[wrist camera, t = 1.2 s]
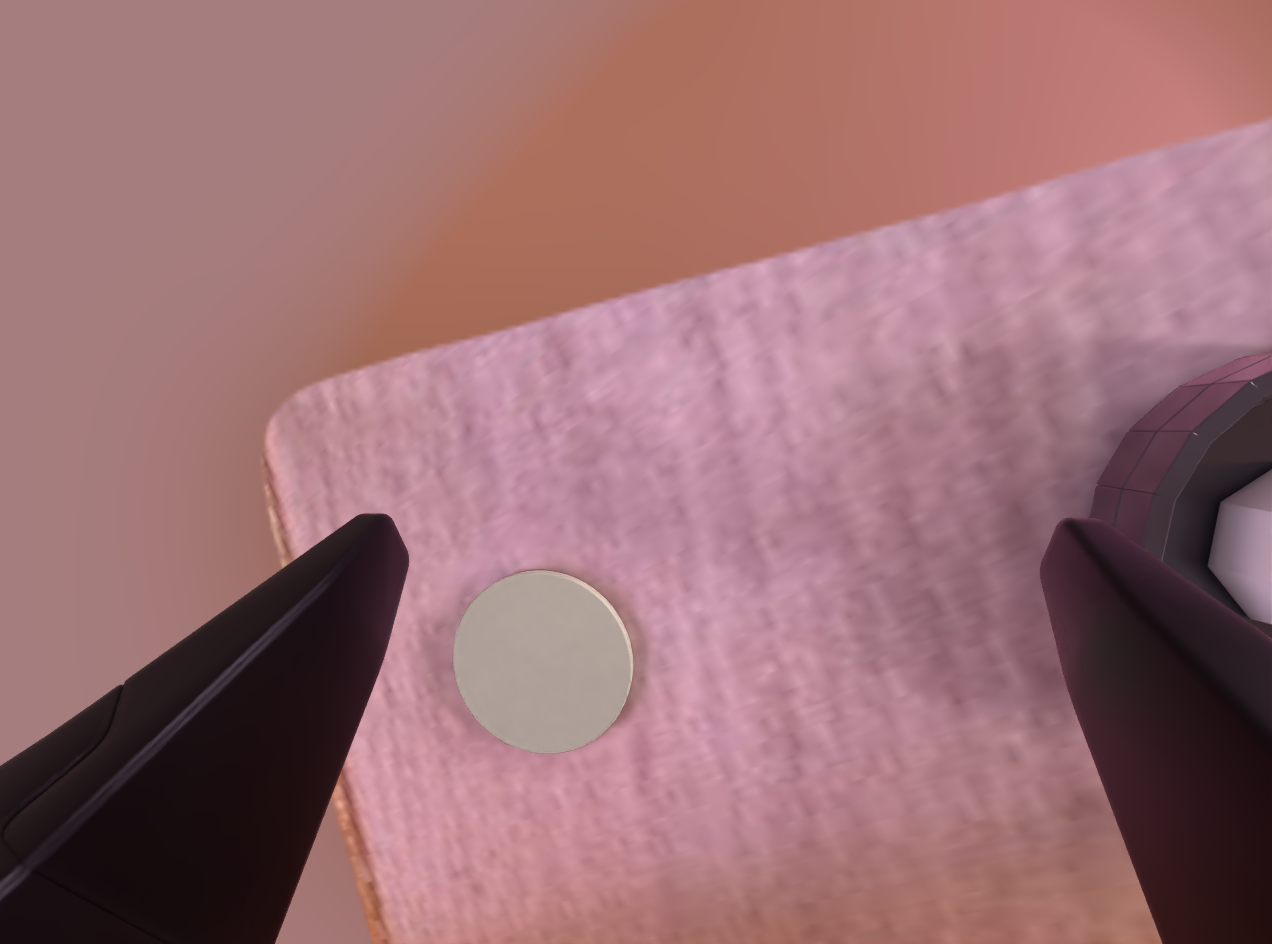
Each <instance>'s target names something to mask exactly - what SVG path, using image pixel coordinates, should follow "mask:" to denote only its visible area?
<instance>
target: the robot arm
mask: <svg viewBox="0 0 1272 944" xmlns="http://www.w3.org/2000/svg"><path fill="white" fill-rule="evenodd" d="M408 567H409V555H408V551H407V549H406V547H405V544H404V542H403V540H402V538H401V536H400V534H399V532H398V530H397V528H396V526H395V523H394V521H393V520H392V518H391V517H390V516H388V515H387V514H360V515H358V516H356V517H354V518H353V519H352V520H350V521H349V522H347V523H346V524H345V525H343V526H342V527H340V528H339V529H338V530H336V531H335V532H333V533H332V534H331V535H329V536H328V537H326V538H325V539H324V540H322V541H321V542H319V543H318V544H317V545H315V546H314V547H312V548H311V549H310V550H308V551H307V552H305V553H304V554H303V555H301V556H300V557H298V558H297V559H296V560H294V561H293V562H291V563H290V564H288V565H287V566H286V567H284V568H283V569H281V570H280V571H279V572H277V573H276V574H274V575H273V576H272V577H270V578H269V579H267V580H266V581H265V582H263V583H262V584H261V585H259V586H258V587H256V588H255V589H253V590H252V591H251V592H249V593H248V594H247V595H245V596H244V597H242V598H241V599H239V600H238V601H237V602H235V603H234V604H232V605H231V606H229V607H228V608H227V609H225V610H224V611H222V612H221V613H220V614H218V615H217V616H216V617H214V618H213V619H211V620H210V621H208V622H207V623H206V624H204V625H203V626H201V627H200V628H199V629H197V630H196V631H195V632H193V633H192V634H190V635H189V636H187V637H186V638H185V639H183V640H182V641H180V642H179V643H177V644H176V645H175V646H174V647H172V648H170V649H169V650H168V651H166V652H165V653H163V654H162V655H161V656H159V657H158V658H157V659H155V660H154V661H152V662H151V663H150V664H148V665H147V666H145V667H144V668H142V669H141V670H140V671H138V672H137V673H135V674H134V675H132V676H131V677H130V678H128V679H127V680H126V681H125V683H124V685H118V686H117V687H115V688H114V689H113V690H111V691H110V692H109V693H107V694H106V695H104V696H103V697H102V698H100V699H99V700H97V701H96V702H94V703H93V704H92V705H90V706H89V707H87V708H86V709H84V710H83V711H82V712H80V713H79V714H77V715H76V716H74V717H73V718H72V719H70V720H69V721H67V722H66V723H64V724H63V725H62V726H60V727H58V728H57V729H56V730H54V731H53V732H51V733H50V734H48V735H47V736H45V737H44V738H42V739H41V740H39V741H38V742H37V743H35V744H33V745H32V746H30V747H29V748H27V749H26V750H24V751H23V752H21V753H19V754H18V755H16V756H15V757H13V758H12V759H10V760H9V761H7V762H6V763H4V764H3V765H1V766H0V944H275V942H276V939H277V937H278V934H279V932H280V929H281V926H282V924H283V921H284V918H285V916H286V913H287V911H288V908H289V906H290V903H291V900H292V897H293V895H294V893H295V890H296V887H297V885H298V882H299V880H300V877H301V874H302V872H303V869H304V866H305V864H306V861H307V859H308V856H309V853H310V851H311V848H312V845H313V843H314V840H315V838H316V835H317V833H318V830H319V827H320V825H321V822H322V819H323V817H324V814H325V812H326V809H327V806H328V804H329V801H330V799H331V796H332V794H333V791H334V788H335V786H336V783H337V781H338V778H339V775H340V773H341V770H342V768H343V765H344V762H345V760H346V757H347V755H348V752H349V749H350V747H351V744H352V742H353V739H354V736H355V734H356V731H357V729H358V726H359V723H360V721H361V718H362V716H363V713H364V710H365V708H366V705H367V703H368V700H369V697H370V695H371V692H372V690H373V687H374V684H375V682H376V679H377V677H378V674H379V671H380V668H381V666H382V663H383V660H384V657H385V653H386V650H387V647H388V643H389V639H390V636H391V632H392V628H393V624H394V620H395V617H396V613H397V609H398V605H399V602H400V598H401V594H402V590H403V586H404V583H405V579H406V575H407V571H408ZM1040 579H1041V583H1042V588H1043V592H1044V596H1045V600H1046V604H1047V608H1048V612H1049V617H1050V621H1051V625H1052V629H1053V633H1054V637H1055V641H1056V645H1057V650H1058V654H1059V658H1060V662H1061V666H1062V670H1063V674H1064V678H1065V681H1066V685H1067V689H1068V692H1069V695H1070V698H1071V701H1072V704H1073V706H1074V709H1075V712H1076V715H1077V717H1078V720H1079V723H1080V725H1081V728H1082V731H1083V733H1084V736H1085V739H1086V741H1087V744H1088V747H1089V749H1090V752H1091V755H1092V757H1093V760H1094V763H1095V765H1096V768H1097V771H1098V773H1099V776H1100V779H1101V781H1102V784H1103V786H1104V789H1105V792H1106V794H1107V797H1108V800H1109V802H1110V805H1111V808H1112V810H1113V813H1114V816H1115V818H1116V821H1117V824H1118V826H1119V829H1120V832H1121V834H1122V837H1123V840H1124V842H1125V845H1126V848H1127V850H1128V853H1129V856H1130V858H1131V861H1132V864H1133V866H1134V869H1135V872H1136V874H1137V877H1138V880H1139V882H1140V885H1141V888H1142V890H1143V893H1144V896H1145V898H1146V901H1147V904H1148V906H1149V909H1150V912H1151V914H1152V917H1153V920H1154V922H1155V925H1156V928H1157V930H1158V933H1159V936H1160V938H1161V941H1162V944H1272V638H1270V637H1269V636H1267V635H1266V634H1264V633H1263V632H1262V631H1260V630H1259V629H1257V628H1256V627H1255V626H1253V625H1252V624H1250V623H1249V622H1247V621H1246V620H1245V619H1243V618H1242V617H1240V616H1239V615H1237V614H1236V613H1235V612H1233V611H1232V610H1230V609H1229V608H1227V607H1226V606H1225V605H1223V604H1222V603H1220V602H1219V601H1217V600H1216V599H1215V598H1213V597H1212V596H1210V595H1209V594H1208V593H1206V592H1205V591H1203V590H1202V589H1200V588H1199V587H1198V586H1196V585H1195V584H1193V583H1192V582H1190V581H1189V580H1188V579H1186V578H1185V577H1183V576H1182V575H1180V574H1179V573H1178V572H1176V571H1175V570H1173V569H1172V568H1170V567H1169V566H1168V565H1166V564H1165V563H1163V562H1162V561H1161V560H1159V559H1158V558H1156V557H1155V556H1153V555H1152V554H1151V553H1149V552H1148V551H1146V550H1145V549H1143V548H1142V547H1141V546H1139V545H1138V544H1136V543H1135V542H1133V541H1132V540H1131V539H1129V538H1128V537H1126V536H1125V535H1123V534H1122V533H1121V532H1119V531H1118V530H1116V529H1115V528H1113V527H1112V526H1111V525H1109V524H1108V523H1106V522H1104V521H1103V520H1100V519H1096V518H1066V519H1063V520H1061V521H1060V522H1059V523H1058V525H1057V526H1056V528H1055V531H1054V533H1053V535H1052V538H1051V540H1050V542H1049V545H1048V547H1047V550H1046V552H1045V554H1044V557H1043V559H1042V562H1041V566H1040Z"/></svg>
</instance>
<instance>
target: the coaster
mask: <svg viewBox="0 0 1272 944" xmlns="http://www.w3.org/2000/svg"><path fill="white" fill-rule="evenodd" d="M453 664H454V673H455V677H456V682H457V685H458V688H459V691H460V694H461V696H462V698H463V700H464V702H465V704H466V706H467V707H468V709H469V710H470V712H471V713H472V715H473V716H474V717H475V718H476V719H477V721H478V722H479V723H480V724H481V725H482V726H483V727H484V728H485V729H486V730H487V731H488V732H490V733H491V734H492V735H494V736H495V737H497V738H498V739H500V740H501V741H503V742H505V743H507V744H509V745H511V746H513V747H516V748H518V749H522V750H525V751H529V752H535V753H547V754H554V753H561V752H567V751H571V750H574V749H577V748H580V747H582V746H584V745H587V744H588V743H590V742H592V741H593V740H595V739H597V738H598V737H599V736H600V735H602V734H603V733H604V732H605V731H606V730H607V729H608V728H609V727H610V726H611V725H612V724H613V722H614V721H615V720H616V718H617V717H618V715H619V714H620V712H621V710H622V708H623V706H624V704H625V702H626V699H627V696H628V694H629V691H630V687H631V682H632V677H633V655H632V648H631V644H630V640H629V637H628V634H627V631H626V628H625V626H624V624H623V622H622V620H621V618H620V617H619V615H618V614H617V612H616V611H615V609H614V608H613V607H612V605H611V604H610V603H609V602H608V601H607V600H606V599H605V598H604V597H603V596H602V595H601V594H600V593H599V592H598V591H597V590H595V589H594V588H592V587H591V586H589V585H588V584H587V583H585V582H583V581H581V580H579V579H577V578H575V577H572V576H569V575H567V574H564V573H559V572H555V571H546V570H531V571H525V572H519V573H516V574H513V575H510V576H507V577H505V578H503V579H501V580H499V581H497V582H496V583H494V584H492V585H491V586H490V587H488V588H487V589H485V590H484V591H483V592H482V593H481V594H480V595H478V596H477V597H476V598H475V600H474V601H473V602H472V603H471V604H470V606H469V607H468V609H467V610H466V612H465V613H464V615H463V617H462V619H461V622H460V624H459V626H458V629H457V633H456V636H455V642H454V648H453Z"/></svg>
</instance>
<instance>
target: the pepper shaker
mask: <svg viewBox="0 0 1272 944" xmlns="http://www.w3.org/2000/svg"><path fill="white" fill-rule="evenodd" d="M1208 567H1209V569H1210V570H1211V571H1212V572H1213V574H1214V575H1215V576H1216V577H1217V579H1218V580H1219V581H1220V582H1221V583H1222V585H1223V586H1224V587H1225V588H1226V590H1227V591H1228V592H1229V593H1230V595H1231V596H1232V597H1233V598H1234V600H1235V601H1236V602H1237V603H1238V605H1239V606H1240V607H1241V608H1242V609H1243V611H1244V612H1245V613H1246V614H1247V616H1248V617H1249V618H1250V619H1252V620H1256V621H1260V622H1265V623H1269V624H1272V469H1271V470H1270V471H1268V472H1267V473H1265V474H1263V475H1262V476H1260V477H1259V478H1257V479H1256V480H1254V481H1253V482H1251V483H1249V484H1248V485H1246V486H1245V487H1243V488H1242V489H1240V490H1239V491H1237V492H1235V493H1234V494H1232V495H1231V496H1229V497H1228V498H1226V499H1225V500H1223V501H1221V503H1220V507H1219V512H1218V517H1217V522H1216V527H1215V532H1214V536H1213V541H1212V546H1211V551H1210V556H1209V561H1208Z"/></svg>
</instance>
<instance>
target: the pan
mask: <svg viewBox="0 0 1272 944" xmlns="http://www.w3.org/2000/svg"><path fill="white" fill-rule="evenodd" d="M1271 469H1272V352H1271V353H1265V354H1259V355H1253V356H1246V357H1243V358H1239V359H1236V360H1234V361H1232V362H1230V363H1228V364H1226V365H1224V366H1222V367H1219V368H1217V369H1215V370H1213V371H1211V372H1209V373H1207V374H1204V375H1202V376H1200V377H1198V378H1196V379H1194V380H1192V381H1189V382H1187V383H1185V384H1183V385H1181V386H1179V387H1178V388H1176V389H1175V390H1174V391H1173V392H1172V393H1170V394H1169V395H1168V396H1167V397H1166V398H1165V399H1164V400H1162V401H1161V402H1160V403H1159V404H1158V405H1157V406H1156V407H1155V408H1153V409H1152V410H1151V411H1150V412H1149V413H1148V414H1147V415H1145V416H1144V417H1143V418H1142V419H1141V420H1140V421H1139V422H1138V423H1136V424H1135V425H1134V426H1133V427H1132V428H1131V429H1130V430H1129V432H1127V433H1126V435H1125V437H1124V438H1123V440H1122V442H1121V443H1120V445H1119V447H1118V449H1117V450H1116V452H1115V454H1114V455H1113V457H1112V459H1111V460H1110V462H1109V464H1108V465H1107V467H1106V469H1105V470H1104V472H1103V474H1102V475H1101V477H1100V479H1099V480H1098V482H1097V484H1098V485H1097V486H1096V489H1095V494H1094V499H1093V503H1092V508H1091V513H1090V518H1096V519H1100V520H1103V521H1104V522H1106V523H1108V524H1109V525H1111V526H1112V527H1113V528H1115V529H1116V530H1118V531H1119V532H1121V533H1122V534H1123V535H1125V536H1126V537H1128V538H1129V539H1131V540H1132V541H1133V542H1135V543H1136V544H1138V545H1139V546H1141V547H1142V548H1143V549H1145V550H1146V551H1148V552H1149V553H1151V554H1152V555H1153V556H1155V557H1156V558H1158V559H1159V560H1161V561H1162V562H1163V563H1165V564H1166V565H1168V566H1169V567H1170V568H1172V569H1173V570H1175V571H1176V572H1178V573H1179V574H1180V575H1182V576H1183V577H1185V578H1186V579H1188V580H1189V581H1190V582H1192V583H1193V584H1195V585H1196V586H1198V587H1199V588H1200V589H1202V590H1203V591H1205V592H1206V593H1208V594H1209V595H1210V596H1212V597H1213V598H1215V599H1216V600H1217V601H1219V602H1220V603H1222V604H1223V605H1225V606H1226V607H1227V608H1229V609H1230V610H1232V611H1233V612H1235V613H1236V614H1237V615H1239V616H1240V617H1242V618H1243V619H1245V620H1246V621H1247V622H1249V623H1250V624H1252V625H1253V626H1255V627H1256V628H1257V629H1259V630H1260V631H1262V632H1263V633H1264V634H1266V635H1267V636H1269V637H1270V638H1272V624H1269V623H1265V622H1260V621H1256V620H1252V619H1250V618H1249V617H1248V616H1247V614H1246V613H1245V612H1244V611H1243V609H1242V608H1241V607H1240V606H1239V605H1238V603H1237V602H1236V601H1235V600H1234V598H1233V597H1232V596H1231V595H1230V593H1229V592H1228V591H1227V590H1226V588H1225V587H1224V586H1223V585H1222V583H1221V582H1220V581H1219V580H1218V579H1217V577H1216V576H1215V575H1214V574H1213V572H1212V571H1211V570H1210V569H1209V567H1208V561H1209V556H1210V551H1211V546H1212V541H1213V536H1214V532H1215V527H1216V522H1217V517H1218V512H1219V507H1220V503H1221V501H1223V500H1225V499H1226V498H1228V497H1229V496H1231V495H1232V494H1234V493H1235V492H1237V491H1239V490H1240V489H1242V488H1243V487H1245V486H1246V485H1248V484H1249V483H1251V482H1253V481H1254V480H1256V479H1257V478H1259V477H1260V476H1262V475H1263V474H1265V473H1267V472H1268V471H1270V470H1271Z"/></svg>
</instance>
